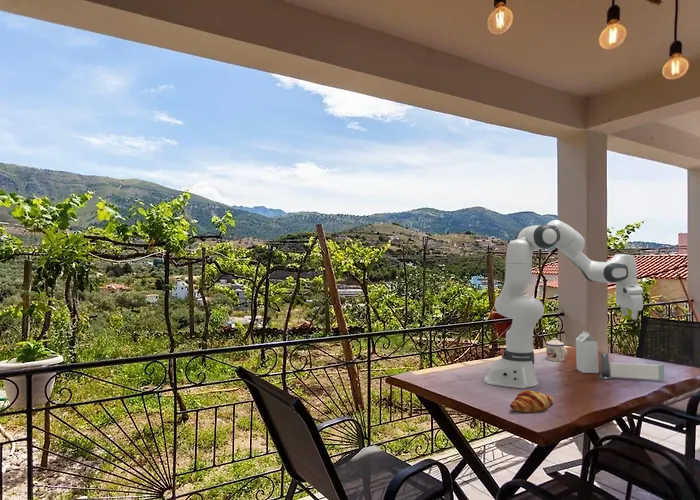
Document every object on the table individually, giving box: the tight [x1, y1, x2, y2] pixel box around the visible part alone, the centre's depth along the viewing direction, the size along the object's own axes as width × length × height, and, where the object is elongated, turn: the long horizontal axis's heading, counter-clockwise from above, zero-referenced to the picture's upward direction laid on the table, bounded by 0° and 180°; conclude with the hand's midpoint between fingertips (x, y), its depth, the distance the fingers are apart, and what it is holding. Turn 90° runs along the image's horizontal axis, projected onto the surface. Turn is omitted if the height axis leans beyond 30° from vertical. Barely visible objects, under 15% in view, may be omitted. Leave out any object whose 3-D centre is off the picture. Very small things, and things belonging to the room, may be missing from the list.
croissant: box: [509, 389, 554, 413], centre depth 155 cm, size 21×10×8 cm, turn 116°
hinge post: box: [598, 352, 613, 381], centre depth 191 cm, size 5×5×11 cm
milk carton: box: [575, 330, 600, 374], centre depth 203 cm, size 7×7×19 cm
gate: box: [609, 362, 665, 381], centre depth 187 cm, size 20×2×6 cm, turn 72°
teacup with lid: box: [545, 337, 568, 362], centre depth 226 cm, size 12×9×12 cm
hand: (629, 317), depth 196 cm, fingers open, 8 cm apart
